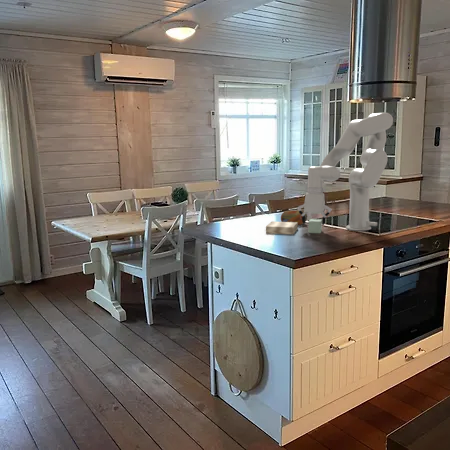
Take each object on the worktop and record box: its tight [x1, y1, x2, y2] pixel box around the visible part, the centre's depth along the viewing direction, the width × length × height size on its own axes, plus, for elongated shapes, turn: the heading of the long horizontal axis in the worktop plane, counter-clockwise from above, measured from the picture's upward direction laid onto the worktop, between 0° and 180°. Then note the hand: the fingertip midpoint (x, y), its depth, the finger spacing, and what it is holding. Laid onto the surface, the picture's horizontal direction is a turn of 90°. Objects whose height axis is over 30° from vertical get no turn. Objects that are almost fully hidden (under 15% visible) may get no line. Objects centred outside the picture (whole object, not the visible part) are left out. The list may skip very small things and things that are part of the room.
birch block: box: [265, 221, 299, 235], centre depth 244 cm, size 14×14×4 cm
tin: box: [280, 209, 308, 226], centre depth 260 cm, size 15×3×8 cm, turn 105°
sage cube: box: [307, 218, 323, 234], centre depth 240 cm, size 6×6×6 cm
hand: (313, 224), depth 239 cm, fingers open, 9 cm apart
